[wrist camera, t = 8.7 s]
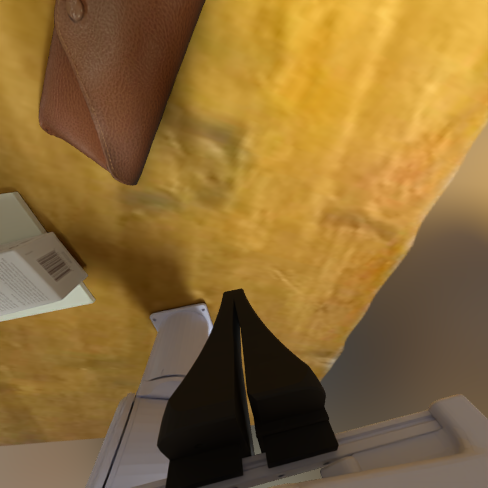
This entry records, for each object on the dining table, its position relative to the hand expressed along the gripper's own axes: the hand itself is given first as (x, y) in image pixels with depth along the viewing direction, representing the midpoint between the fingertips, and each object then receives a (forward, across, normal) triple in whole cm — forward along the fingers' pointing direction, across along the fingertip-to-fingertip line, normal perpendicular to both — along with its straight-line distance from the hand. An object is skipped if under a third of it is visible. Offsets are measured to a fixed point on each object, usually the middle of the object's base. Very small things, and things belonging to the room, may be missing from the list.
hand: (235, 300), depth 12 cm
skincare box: (+8, +17, -2) cm, 19 cm away
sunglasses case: (+11, +5, -17) cm, 21 cm away
